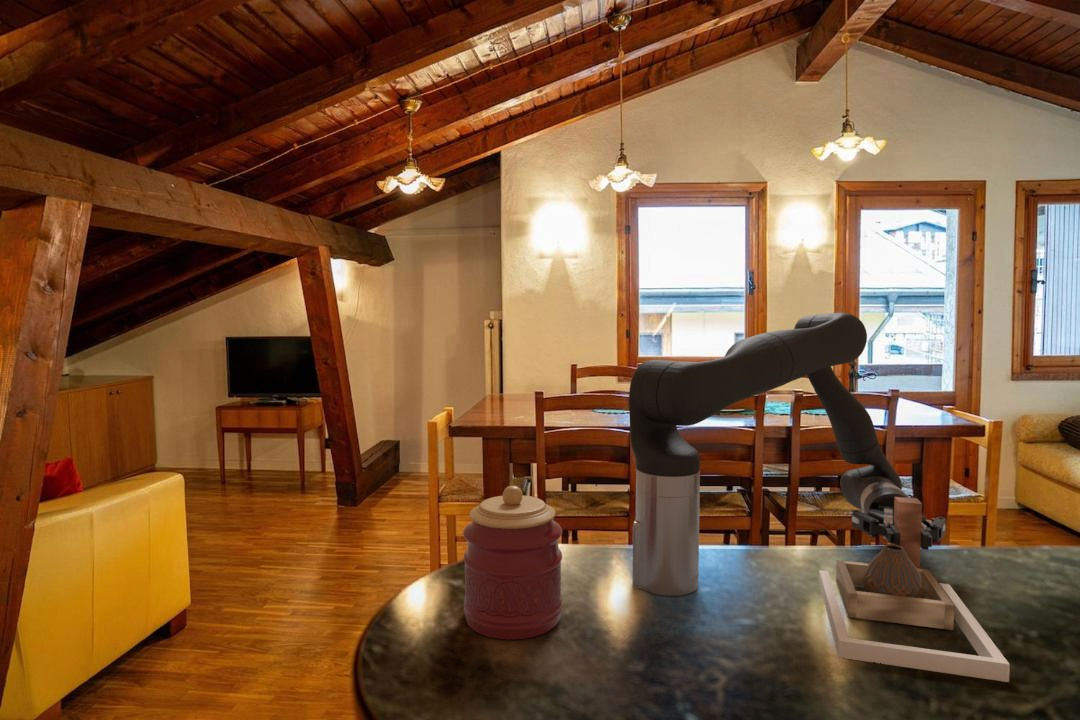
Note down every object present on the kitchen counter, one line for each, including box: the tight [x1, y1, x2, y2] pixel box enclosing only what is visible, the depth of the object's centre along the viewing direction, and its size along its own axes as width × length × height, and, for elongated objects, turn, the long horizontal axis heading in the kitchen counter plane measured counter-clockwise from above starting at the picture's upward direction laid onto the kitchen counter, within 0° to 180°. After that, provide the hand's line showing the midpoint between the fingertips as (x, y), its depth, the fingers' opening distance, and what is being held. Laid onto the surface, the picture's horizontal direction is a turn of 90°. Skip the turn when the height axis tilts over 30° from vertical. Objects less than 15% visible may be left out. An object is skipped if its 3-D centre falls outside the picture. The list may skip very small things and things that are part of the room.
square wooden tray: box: [835, 497, 955, 631], centre depth 90 cm, size 12×18×12 cm
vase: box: [863, 543, 923, 599], centre depth 86 cm, size 7×7×9 cm
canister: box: [462, 485, 563, 640], centre depth 84 cm, size 13×13×18 cm
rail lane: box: [818, 569, 1011, 683], centre depth 82 cm, size 17×22×2 cm
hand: (911, 541), depth 93 cm, fingers closed on square wooden tray, 3 cm apart
